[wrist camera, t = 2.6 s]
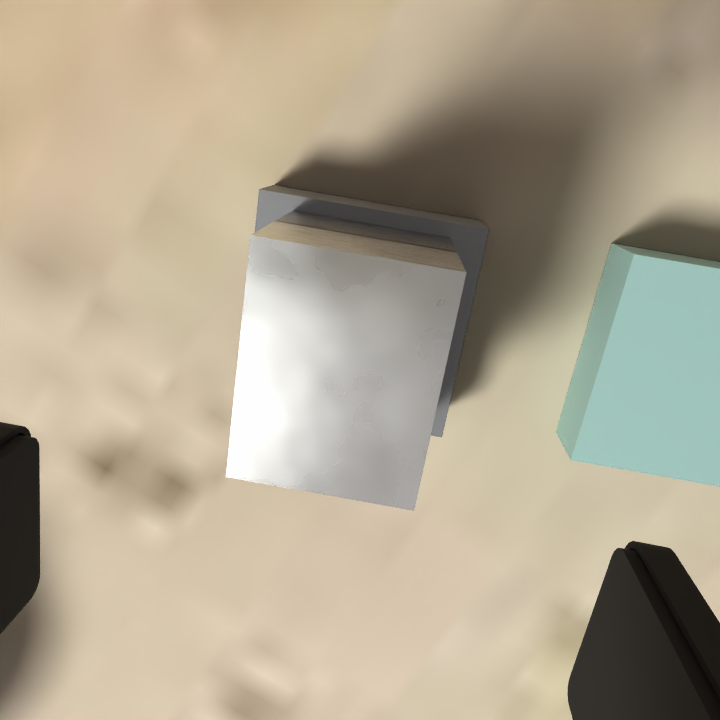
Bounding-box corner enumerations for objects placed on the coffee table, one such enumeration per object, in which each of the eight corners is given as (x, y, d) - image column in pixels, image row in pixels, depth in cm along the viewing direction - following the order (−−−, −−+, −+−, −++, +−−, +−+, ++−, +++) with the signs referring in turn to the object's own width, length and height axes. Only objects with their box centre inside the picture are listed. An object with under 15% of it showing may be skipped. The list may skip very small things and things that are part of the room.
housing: (292, 210, 22) (250, 235, 16) (450, 237, 22) (466, 272, 16) (270, 394, 24) (225, 476, 18) (412, 420, 24) (414, 510, 18)
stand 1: (273, 184, 24) (259, 189, 22) (481, 220, 24) (489, 228, 22) (252, 378, 27) (237, 400, 24) (438, 411, 26) (441, 437, 24)
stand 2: (611, 243, 24) (634, 254, 21) (822, 279, 24) (868, 294, 21) (556, 431, 26) (570, 460, 24) (745, 465, 26) (778, 497, 24)
